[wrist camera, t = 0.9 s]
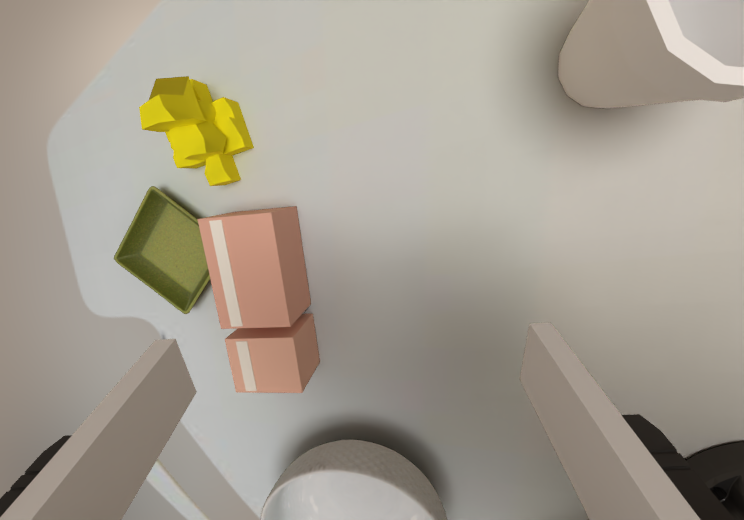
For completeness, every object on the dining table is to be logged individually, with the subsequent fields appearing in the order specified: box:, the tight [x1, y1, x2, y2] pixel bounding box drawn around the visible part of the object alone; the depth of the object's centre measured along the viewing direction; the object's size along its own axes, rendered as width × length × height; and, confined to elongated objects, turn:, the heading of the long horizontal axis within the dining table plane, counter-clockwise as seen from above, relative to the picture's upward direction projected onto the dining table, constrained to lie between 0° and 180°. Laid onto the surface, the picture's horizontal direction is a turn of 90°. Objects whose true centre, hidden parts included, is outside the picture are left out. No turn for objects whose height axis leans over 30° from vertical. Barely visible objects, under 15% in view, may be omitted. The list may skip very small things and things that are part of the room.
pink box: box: [225, 314, 320, 393], centre depth 31 cm, size 5×6×5 cm
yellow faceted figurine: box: [139, 76, 254, 186], centre depth 26 cm, size 6×8×8 cm
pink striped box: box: [198, 206, 311, 329], centre depth 29 cm, size 10×6×5 cm, turn 6°
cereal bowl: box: [260, 439, 447, 520], centre depth 32 cm, size 17×17×7 cm
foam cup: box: [558, 0, 744, 109], centre depth 17 cm, size 10×9×13 cm
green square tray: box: [114, 186, 210, 314], centre depth 32 cm, size 9×9×2 cm
